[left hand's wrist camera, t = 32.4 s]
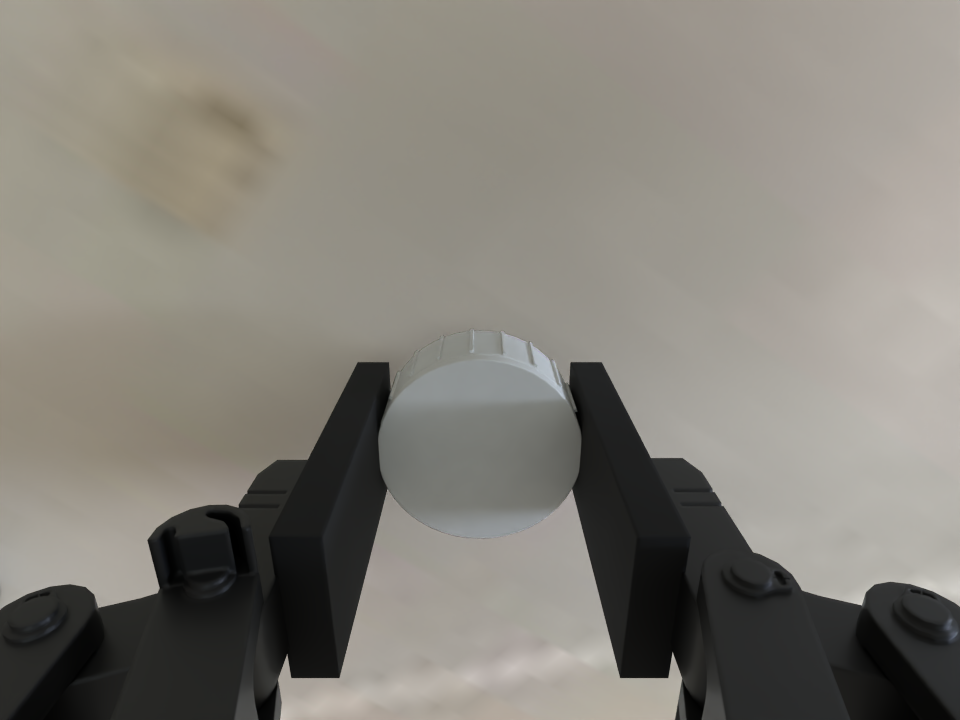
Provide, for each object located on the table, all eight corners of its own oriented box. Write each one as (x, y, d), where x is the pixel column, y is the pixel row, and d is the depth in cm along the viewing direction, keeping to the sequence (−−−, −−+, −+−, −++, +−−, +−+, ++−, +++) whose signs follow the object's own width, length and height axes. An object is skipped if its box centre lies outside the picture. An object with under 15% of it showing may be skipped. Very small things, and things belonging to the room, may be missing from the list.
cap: (363, 458, 15) (348, 502, 13) (425, 298, 14) (417, 324, 12) (526, 514, 16) (532, 564, 14) (603, 368, 14) (621, 404, 12)
